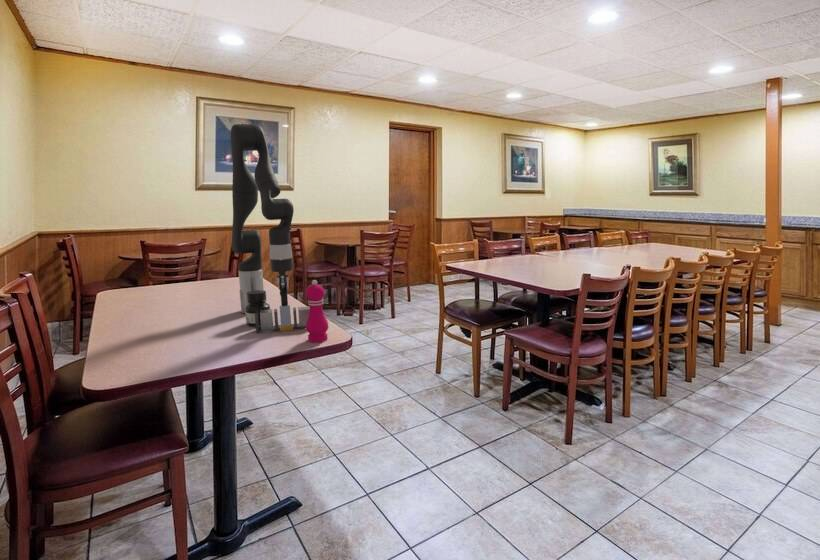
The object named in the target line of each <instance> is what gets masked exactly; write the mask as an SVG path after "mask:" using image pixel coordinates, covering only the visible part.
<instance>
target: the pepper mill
mask: <svg viewBox="0 0 820 560" xmlns="http://www.w3.org/2000/svg"><path fill="white" fill-rule="evenodd" d="M325 293H326V292H325V288H324V287H323V286H322V285H320V284H318V281H317V280H316V279H313V280H312V281H311V284H310V285H309V286H307V288H306V289H305V297H306V298H307V299H308V300H307V305H308V306H309V308H310V313H309V317H308V320H307V323H306V329H305V330H306V332H308V335H307V339H308V342H309V341H310V343H314V342H318V343H323V341H324V342H326V341H327V340H328V333H327V331H328V330H329V323H328V320H327V317H326V316H325V314H324V310H323V305H324V299H323V298H324V296H325Z"/></svg>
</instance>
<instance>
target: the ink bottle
mask: <svg viewBox="0 0 820 560" xmlns="http://www.w3.org/2000/svg"><path fill="white" fill-rule="evenodd" d="M247 301H248V303H249V304H248V305H247V306H246V307H245V313H244V314H245V323H246V325H247V326H251V327H256V324H255V311H258V313H259V325H260V327H261V321H260V310H270V309H271V305H270V304H269V303H268V302H267V291H266V290H255V291H249V292H247Z"/></svg>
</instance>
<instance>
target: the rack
mask: <svg viewBox="0 0 820 560" xmlns="http://www.w3.org/2000/svg"><path fill="white" fill-rule="evenodd" d="M292 311H293V314H292V315H293V323H291V325H290V326H281V324H279V316H278V315H279V313H278V308H274V309H272V308H270V310H260V321H261V326H260V325H259V313H258V311H255V324H256V326H255V334H261V333H262V334H263V333H273V332H285V331H293V330H294V329H297V330H306V329H305V328H306V323H307V320H308V317H309V313H310V307H309V305H308V306H298V307H292ZM297 312H298V320H297ZM273 314H274V315H273ZM294 331H295V330H294Z"/></svg>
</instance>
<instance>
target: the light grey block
mask: <svg viewBox="0 0 820 560" xmlns="http://www.w3.org/2000/svg"><path fill="white" fill-rule="evenodd" d="M279 315H280V325H281V326H290V325H291V324H292V318H291V317H292V315H291V305H290V304H288V306H282V305H281V304H280V305H279Z"/></svg>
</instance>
